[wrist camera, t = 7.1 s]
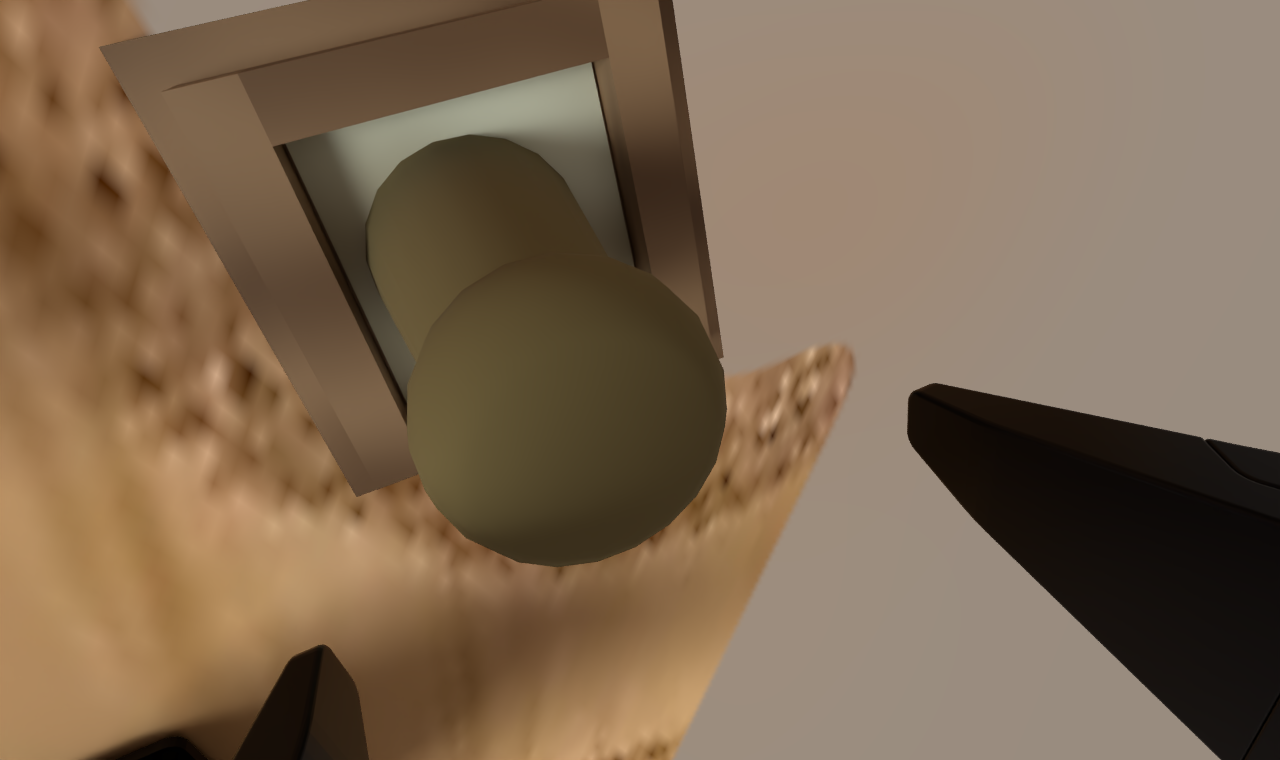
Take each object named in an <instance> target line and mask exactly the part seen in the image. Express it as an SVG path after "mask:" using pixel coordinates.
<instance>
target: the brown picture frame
mask: <svg viewBox="0 0 1280 760" xmlns="http://www.w3.org/2000/svg"><path fill="white" fill-rule="evenodd" d="M99 48H100V50H101V52H102V53H103V55H104V57H105V59H106V60H107V62H108V64H109V66H110V67H111V69H112V71H113V73H114V74H115V76H116V78H117V79H118V81H119V83H120V85H121V86H122V88H123V90H124V92H125V93H126V95H127V97H128V99H129V100H130V102H131V104H132V106H133V107H134V109H135V111H136V113H137V114H138V116H139V118H140V120H141V121H142V123H143V125H144V127H145V128H146V130H147V132H148V134H149V135H150V137H151V139H152V141H153V142H154V144H155V146H156V148H157V149H158V151H159V153H160V155H161V156H162V158H163V160H164V162H165V163H166V165H167V167H168V169H169V170H170V172H171V174H172V176H173V177H174V179H175V181H176V182H177V184H178V186H179V188H180V189H181V191H182V193H183V195H184V196H185V198H186V200H187V202H188V203H189V205H190V207H191V209H192V210H193V212H194V214H195V216H196V217H197V219H198V221H199V223H200V224H201V226H202V228H203V230H204V231H205V233H206V235H207V237H208V238H209V240H210V242H211V244H212V245H213V247H214V249H215V251H216V252H217V254H218V256H219V258H220V259H221V261H222V263H223V265H224V266H225V268H226V270H227V272H228V273H229V275H230V277H231V279H232V280H233V282H234V284H235V286H236V287H237V289H238V291H239V292H240V294H241V296H242V298H243V299H244V301H245V303H246V305H247V306H248V308H249V310H250V312H251V313H252V315H253V317H254V319H255V320H256V322H257V324H258V326H259V327H260V329H261V331H262V333H263V334H264V336H265V338H266V340H267V341H268V343H269V345H270V347H271V348H272V350H273V352H274V354H275V355H276V357H277V359H278V361H279V362H280V364H281V366H282V368H283V369H284V371H285V373H286V375H287V376H288V378H289V380H290V382H291V383H292V385H293V387H294V389H295V390H296V392H297V394H298V395H299V397H300V399H301V401H302V402H303V404H304V406H305V408H306V409H307V411H308V413H309V415H310V416H311V418H312V420H313V422H314V423H315V425H316V427H317V429H318V430H319V432H320V434H321V436H322V437H323V439H324V441H325V443H326V444H327V446H328V448H329V450H330V451H331V453H332V455H333V457H334V458H335V460H336V462H337V464H338V465H339V467H340V469H341V471H342V472H343V474H344V476H345V478H346V479H347V481H348V483H349V485H350V486H351V488H352V490H353V492H354V493H355V495H356V497H358V496H361V495H363V494H366V493H369V492H371V491H374V490H376V489H377V490H378V489H380V488H383V487H386V486H388V485H391V484H394V483H396V482H399V481H401V480H404V479H407V478H409V477H412V476H415V475H417V474H418V471H417V469H416V466H415V464H414V461H413V459H412V456H411V454H410V451H409V445H408V436H407V384H408V382H409V379H410V377H411V374H412V372H413V369H414V366H415V364H416V361H415V360H414V358H413V356H412V354H411V352H410V350H409V349H408V347H407V345H406V343H405V341H404V339H403V337H402V336H401V334H400V332H399V330H398V328H397V326H396V325H395V323H394V321H393V319H392V317H391V315H390V313H389V312H388V310H387V308H386V306H385V304H384V302H383V301H382V299H381V297H380V295H379V293H378V291H377V288H376V286H375V283H374V280H373V278H372V275H371V272H370V269H369V267H368V264H367V261H366V240H365V223H366V221H367V218H368V215H369V212H370V209H371V206H372V203H373V200H374V197H375V195H376V192H377V190H378V188H379V187H380V186H381V185H382V183H383V182H384V181H385V180H386V179H387V177H388V176H389V175H390V174H391V172H392V171H393V170H394V169H395V167H396V166H397V165H398V164H399V163H400V161H402V160H404V159H405V158H407V157H409V156H410V155H412V154H414V153H415V152H417V151H419V150H420V149H422V148H424V147H425V146H427V145H428V144H430V143H432V142H435V141H440V140H445V139H450V138H454V137H459V136H464V135H469V134H470V135H479V136H487V137H495V138H504V139H507V140H510V141H512V142H514V143H516V144H518V145H520V146H522V147H524V148H527V149H529V150H531V151H533V152H535V153H537V154H539V155H540V156H541V157H542V158H543V159H544V160H545V161H546V162H547V163H548V164H549V165H550V166H551V167H553V168H554V169H555V170H556V171H557V172H558V173H559V174H560V175H561V176H562V177H563V178H564V180H565V181H566V183H567V185H568V187H569V189H570V190H571V192H572V194H573V196H574V197H575V199H576V201H577V203H578V204H579V206H580V208H581V210H582V211H583V213H584V215H585V217H586V218H587V220H588V222H589V224H590V225H591V227H592V229H593V231H594V233H595V234H596V236H597V238H598V240H599V241H600V243H601V245H602V247H603V248H604V250H605V252H606V254H607V255H608V257H611V258H613V259H616V260H618V261H620V262H623V263H625V264H628V265H630V266H633V267H635V268H638V269H640V270H642V271H645V272H647V273H650V274H652V275H653V276H655V277H656V278H657V279H658V280H660V281H661V282H662V283H663V284H664V285H666V286H667V287H668V288H669V289H670V290H671V291H672V292H673V293H674V294H675V295H676V296H678V297H679V298H680V299H681V300H682V301H683V302H684V303H685V304H686V305H687V306H688V307H689V308H690V309H692V310H693V311H694V312H695V313H696V314H697V315H698V316H699V318H700V321H701V323H702V325H703V327H704V329H705V331H706V333H707V335H708V337H709V340H710V342H711V344H712V346H713V348H714V350H715V352H716V354H717V357H718V359H720V358H723V350H722V343H721V336H720V329H719V322H718V315H717V308H716V301H715V294H714V287H713V280H712V273H711V266H710V259H709V252H708V245H707V238H706V231H705V224H704V217H703V210H702V203H701V196H700V190H699V183H698V176H697V169H696V162H695V155H694V148H693V141H692V134H691V127H690V120H689V113H688V106H687V99H686V92H685V85H684V78H683V71H682V64H681V57H680V50H679V43H678V37H677V29H676V23H675V15H674V8H673V2H672V0H307V1H303V2H298V3H294V4H289V5H285V6H281V7H276V8H271V9H267V10H263V11H258V12H253V13H249V14H245V15H240V16H235V17H231V18H227V19H222V20H218V21H213V22H209V23H204V24H199V25H195V26H191V27H186V28H182V29H177V30H173V31H168V32H164V33H159V34H155V35H150V36H146V37H141V38H137V39H132V40H128V41H123V42H119V43H114V44H110V45H105V46H101V47H99Z"/></svg>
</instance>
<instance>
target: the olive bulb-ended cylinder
mask: <svg viewBox="0 0 1280 760" xmlns="http://www.w3.org/2000/svg"><path fill="white" fill-rule="evenodd" d="M365 240H366V261H367V264H368V267H369V269H370V272H371V275H372V278H373V280H374V283H375V286H376V288H377V291H378V293H379V295H380V297H381V299H382V301H383V302H384V304H385V306H386V308H387V310H388V312H389V313H390V315H391V317H392V319H393V321H394V323H395V325H396V326H397V328H398V330H399V332H400V334H401V336H402V337H403V339H404V341H405V343H406V345H407V347H408V349H409V350H410V352H411V354H412V356H413V358H414V360H415V361H416V364H415V366H414V369H413V372H412V374H411V377H410V379H409V382H408V384H407V436H408V445H409V451H410V454H411V456H412V459H413V461H414V464H415V466H416V469H417V471H418V474H419V476H420V479H421V481H422V484H423V486H424V489H425V491H426V493H427V494H428V496H429V497H430V499H431V500H432V502H433V503H434V505H435V506H436V508H437V509H438V510H439V511H440V512H441V513H442V514H443V515H444V516H445V517H446V518H447V519H448V520H449V521H450V522H451V523H452V524H453V525H454V526H455V527H456V528H457V529H458V530H459V531H460V532H461V533H462V534H463V535H464V536H465V537H466V538H467V539H469V540H472V541H474V542H476V543H478V544H480V545H482V546H484V547H487V548H489V549H491V550H493V551H495V552H497V553H499V554H502V555H504V556H506V557H508V558H510V559H513V560H515V561H517V562H521V563H529V564H537V565H545V566H553V567H562V566H569V565H577V564H584V563H591V562H598V561H600V560H603V559H606V558H608V557H611V556H613V555H616V554H619V553H621V552H624V551H626V550H629V549H632V548H634V547H636V546H638V545H639V544H641V543H642V542H644V541H645V540H647V539H648V538H650V537H651V536H653V535H654V534H656V533H657V532H659V531H660V530H662V529H663V528H665V527H666V526H668V525H669V524H670V523H671V522H672V521H673V520H674V519H675V518H676V517H677V516H678V515H679V514H680V513H681V512H682V511H683V510H684V509H685V508H686V507H687V505H688V504H689V503H690V502H691V501H692V500H693V499H694V498H695V497H696V496H697V495H698V493H699V491H700V489H701V488H702V486H703V484H704V482H705V481H706V479H707V477H708V475H709V474H710V472H711V470H712V468H713V467H714V465H715V463H716V460H717V456H718V452H719V448H720V444H721V440H722V436H723V432H724V428H725V421H726V412H727V405H726V393H725V380H724V370H723V367H722V365H721V364H720V361H719V359H718V357H717V354H716V352H715V350H714V348H713V346H712V344H711V342H710V340H709V337H708V335H707V333H706V331H705V329H704V327H703V325H702V323H701V321H700V318H699V316H698V315H697V314H696V313H695V312H694V311H693V310H692V309H690V308H689V307H688V306H687V305H686V304H685V303H684V302H683V301H682V300H681V299H680V298H679V297H678V296H676V295H675V294H674V293H673V292H672V291H671V290H670V289H669V288H668V287H667V286H666V285H664V284H663V283H662V282H661V281H660V280H658V279H657V278H656V277H655V276H653V275H652V274H650V273H647V272H645V271H642V270H640V269H638V268H635V267H633V266H630V265H628V264H625V263H623V262H620V261H618V260H616V259H613V258H611V257H608V255H607V254H606V252H605V250H604V248H603V247H602V245H601V243H600V241H599V240H598V238H597V236H596V234H595V233H594V231H593V229H592V227H591V225H590V224H589V222H588V220H587V218H586V217H585V215H584V213H583V211H582V210H581V208H580V206H579V204H578V203H577V201H576V199H575V197H574V196H573V194H572V192H571V190H570V189H569V187H568V185H567V183H566V181H565V180H564V178H563V177H562V176H561V175H560V174H559V173H558V172H557V171H556V170H555V169H554V168H553V167H551V166H550V165H549V164H548V163H547V162H546V161H545V160H544V159H543V158H542V157H541V156H540V155H539V154H537V153H535V152H533V151H531V150H529V149H527V148H524V147H522V146H520V145H518V144H516V143H514V142H512V141H510V140H507V139H504V138H495V137H487V136H479V135H470V134H469V135H464V136H459V137H454V138H450V139H445V140H440V141H435V142H432V143H430V144H428V145H427V146H425V147H424V148H422V149H420V150H419V151H417V152H415V153H414V154H412V155H410V156H409V157H407V158H405V159H404V160H402V161H400V163H399V164H398V165H397V166H396V167H395V169H394V170H393V171H392V172H391V174H390V175H389V176H388V177H387V179H386V180H385V181H384V182H383V183H382V185H381V186H380V187H379V188H378V190H377V192H376V195H375V197H374V200H373V203H372V206H371V209H370V212H369V215H368V218H367V221H366V223H365Z"/></svg>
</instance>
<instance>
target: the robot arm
mask: <svg viewBox="0 0 1280 760" xmlns="http://www.w3.org/2000/svg"><path fill="white" fill-rule="evenodd" d="M907 424H908V425H907V434H908V438H909V441H910V443H911V445H912V447H913V448H914V449H915V451H916V452H917V453H918V454H919V455H920V457H921V458H922V459H923V460H924V461H925V462H926V464H927V465H928V466H929V467H930V468H931V470H932V471H933V472H934V473H935V474H936V476H937V477H938V478H939V479H940V480H941V482H942V483H943V484H944V485H945V486H946V487H947V489H948V490H949V491H950V492H951V493H952V495H953V496H954V497H955V498H956V499H957V501H958V502H959V503H960V504H961V505H962V506H963V508H964V509H965V510H966V511H967V512H968V513H969V514H970V515H971V517H972V518H973V519H974V520H975V521H976V522H977V523H978V524H979V525H980V526H981V527H982V528H983V529H984V530H985V531H986V532H987V533H988V534H989V535H990V536H991V537H992V538H993V539H994V540H995V541H996V542H997V543H998V544H999V545H1000V546H1001V547H1002V548H1003V549H1004V550H1006V552H1008V553H1009V554H1010V555H1011V556H1012V557H1013V558H1014V559H1015V560H1016V561H1017V562H1018V563H1019V564H1020V565H1021V566H1022V567H1023V568H1024V569H1025V570H1026V571H1027V572H1028V573H1029V574H1030V575H1031V576H1032V577H1033V578H1034V579H1035V580H1036V581H1037V582H1038V583H1039V584H1040V585H1041V586H1043V587H1044V588H1045V589H1046V590H1047V591H1048V592H1049V593H1050V594H1051V595H1052V596H1053V597H1054V598H1055V599H1056V600H1057V601H1058V602H1059V603H1060V604H1061V605H1062V606H1063V607H1064V608H1065V609H1066V610H1067V611H1068V612H1069V613H1070V614H1071V615H1072V616H1073V617H1074V618H1075V619H1076V620H1078V621H1079V622H1080V623H1081V624H1082V625H1083V626H1084V627H1085V628H1086V629H1087V630H1088V631H1089V632H1090V633H1091V634H1092V635H1093V636H1094V637H1095V638H1096V639H1097V640H1098V641H1099V642H1100V643H1101V644H1102V645H1103V646H1104V647H1106V649H1107V650H1108V651H1109V652H1110V653H1111V654H1113V655H1114V656H1115V657H1116V658H1117V659H1118V660H1119V661H1120V662H1121V663H1122V664H1123V665H1124V666H1125V667H1126V668H1127V669H1128V670H1129V671H1130V672H1131V673H1132V674H1133V675H1134V676H1135V677H1136V678H1137V679H1138V680H1139V681H1140V682H1141V683H1142V684H1143V685H1145V687H1147V689H1149V690H1150V691H1151V692H1152V693H1153V694H1154V695H1155V696H1156V697H1157V698H1158V699H1159V700H1160V701H1161V702H1162V703H1163V704H1164V705H1165V706H1166V707H1167V708H1168V709H1169V710H1170V711H1171V712H1172V713H1173V714H1174V715H1175V716H1177V718H1178V719H1180V721H1181V722H1183V723H1184V724H1185V725H1186V726H1187V727H1188V728H1189V729H1190V730H1191V731H1192V732H1193V733H1194V734H1195V735H1196V736H1197V737H1198V738H1199V739H1200V740H1201V741H1202V742H1203V743H1204V744H1205V745H1206V746H1207V747H1208V748H1209V749H1210V750H1211V751H1212V752H1213V753H1214V754H1215V755H1217V756H1218V757H1219V758H1220V759H1221V760H1280V453H1278V452H1273V451H1267V450H1262V449H1257V448H1252V447H1246V446H1241V445H1236V444H1232V443H1227V442H1222V441H1217V440H1213V439H1206V440H1204V439H1203V438H1201V437H1197V436H1192V435H1187V434H1182V433H1178V432H1172V431H1168V430H1163V429H1158V428H1153V427H1148V426H1144V425H1138V424H1134V423H1129V422H1124V421H1119V420H1114V419H1109V418H1105V417H1100V416H1095V415H1090V414H1085V413H1080V412H1075V411H1070V410H1065V409H1060V408H1055V407H1051V406H1045V405H1041V404H1036V403H1031V402H1026V401H1021V400H1016V399H1012V398H1007V397H1002V396H997V395H992V394H987V393H982V392H978V391H972V390H968V389H963V388H958V387H953V386H948V385H943V384H938V383H933V384H929V385H927V386H924V387H922V388H920V389H917V390H915V391H913V392H912V393H911V394H910V396H909V399H908V423H907ZM116 760H208V759H207V758H206V757H205V756H204V755H203V754H202V753H201V752H200V751H199V750H198V749H196V748H195V747H194V746H193V745H192V744H191V743H190V742H189V741H188V740H187V739H185V738H183V737H178V736H176V737H169V738H165V739H163V740H161V741H158V742H156V743H154V744H151V745H149V746H147V747H144V748H142V749H140V750H137V751H135V752H133V753H130V754H128V755H126V756H123V757H121V758H119V759H116ZM233 760H369V757H368V751H367V744H366V738H365V732H364V725H363V719H362V713H361V706H360V700H359V695H358V691H357V688H356V685H355V683H354V681H353V679H352V678H351V676H350V675H349V674H348V672H347V671H346V669H345V668H344V667H343V665H342V664H341V663H340V661H339V660H338V658H337V657H336V656H335V654H334V653H333V652H332V650H331V649H330V648H329V647H327V646H326V645H318V646H316V647H313V648H311V649H309V650H306V651H304V652H302V653H299V654H297V655H295V656H293V657H292V658H291V659H290V660H289V661H288V663H287V664H286V666H285V668H284V670H283V671H282V673H281V675H280V677H279V679H278V680H277V682H276V684H275V686H274V687H273V689H272V691H271V693H270V694H269V696H268V698H267V700H266V701H265V703H264V705H263V707H262V708H261V710H260V712H259V714H258V716H257V717H256V719H255V721H254V723H253V724H252V726H251V728H250V730H249V731H248V733H247V735H246V737H245V738H244V740H243V742H242V744H241V746H240V747H239V749H238V751H237V753H236V754H235V756H234V758H233Z"/></svg>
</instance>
